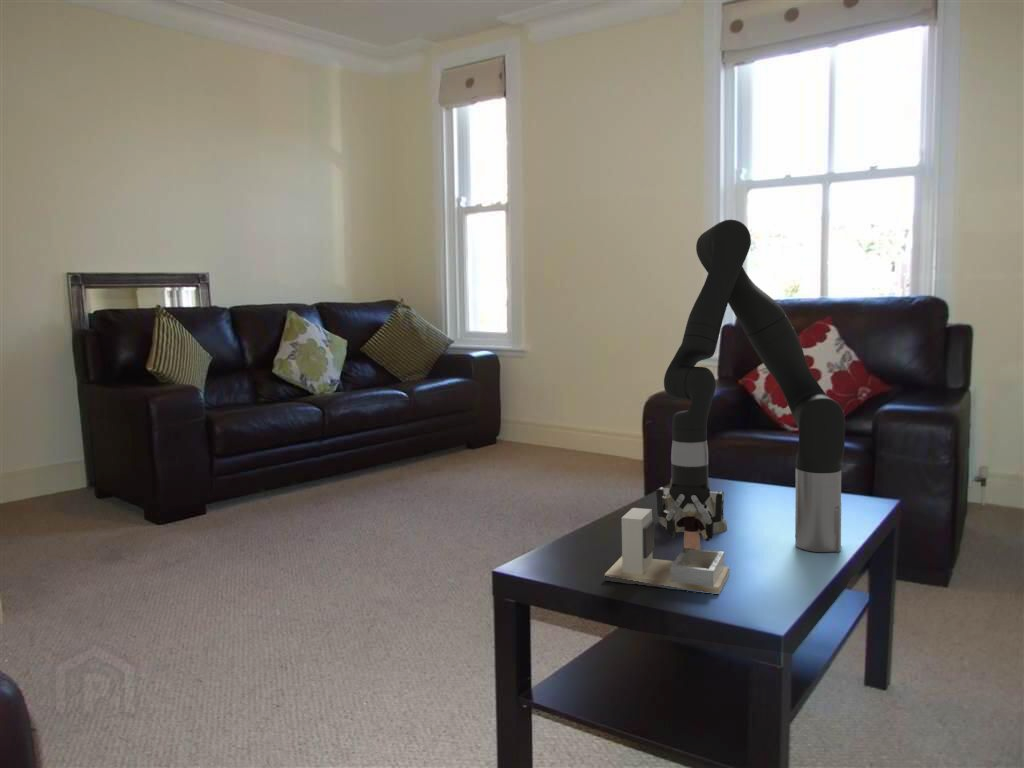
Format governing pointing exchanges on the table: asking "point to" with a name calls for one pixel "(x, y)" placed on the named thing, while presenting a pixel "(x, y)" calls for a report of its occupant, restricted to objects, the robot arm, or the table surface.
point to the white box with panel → (637, 540)
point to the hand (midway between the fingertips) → (690, 538)
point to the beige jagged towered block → (718, 526)
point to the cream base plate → (666, 576)
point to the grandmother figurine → (691, 527)
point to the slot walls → (694, 574)
